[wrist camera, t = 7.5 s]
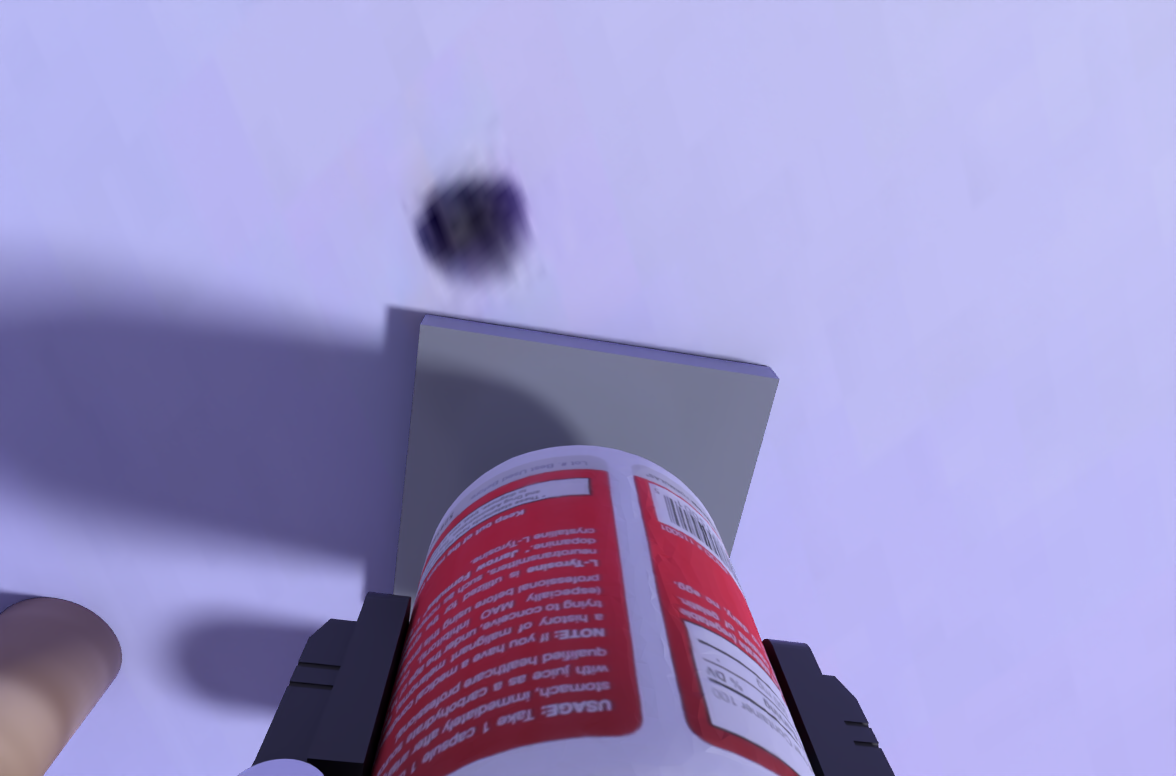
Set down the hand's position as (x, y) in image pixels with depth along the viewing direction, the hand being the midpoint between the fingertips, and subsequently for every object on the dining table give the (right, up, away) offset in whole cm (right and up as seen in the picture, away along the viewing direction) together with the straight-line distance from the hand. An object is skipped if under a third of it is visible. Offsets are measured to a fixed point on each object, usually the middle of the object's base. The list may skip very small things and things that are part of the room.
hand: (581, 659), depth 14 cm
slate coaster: (0, +2, +5) cm, 6 cm away
